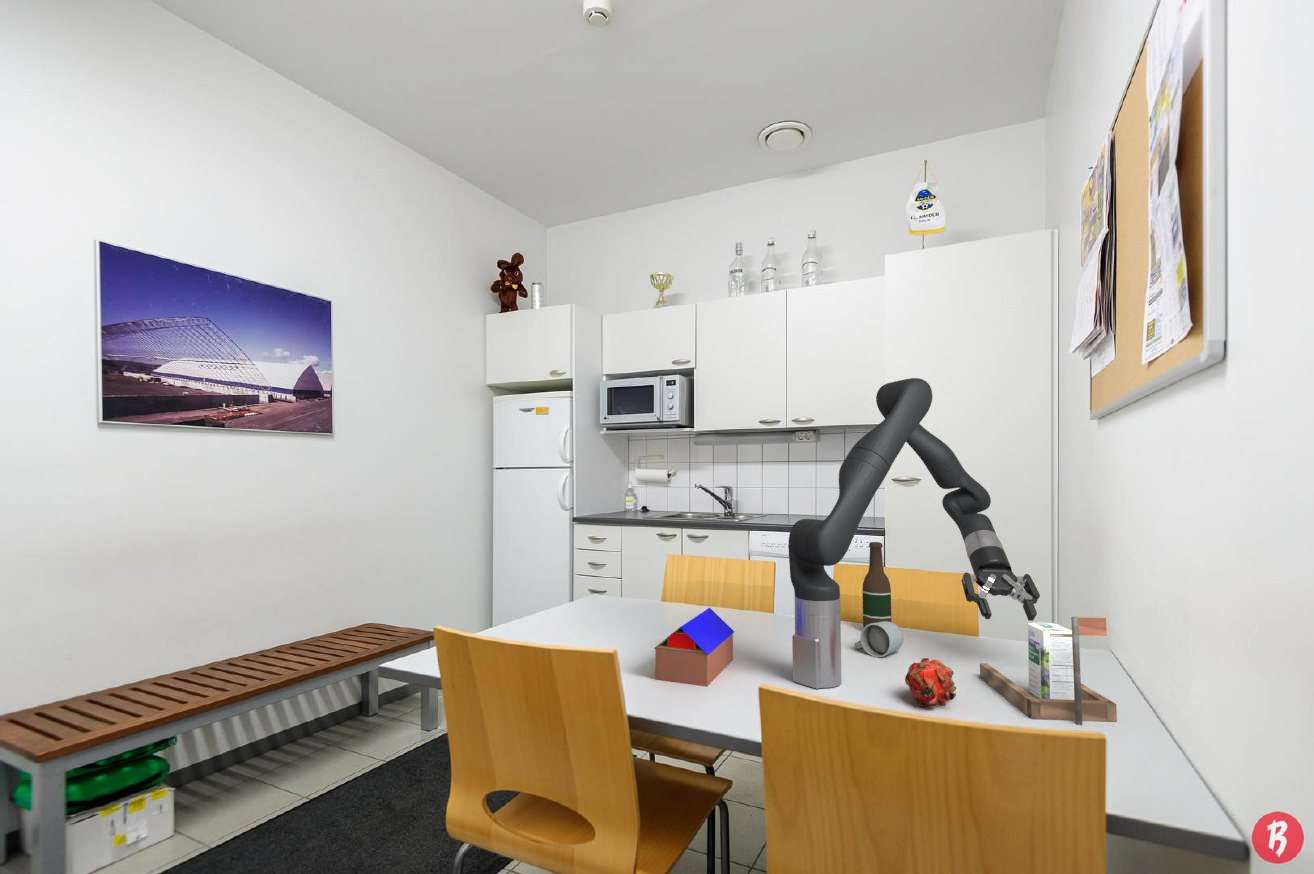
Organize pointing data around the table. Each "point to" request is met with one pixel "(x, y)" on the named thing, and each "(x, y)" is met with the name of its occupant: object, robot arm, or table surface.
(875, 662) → the table surface
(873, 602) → the beer bottle
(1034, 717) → the wooden frame with flag
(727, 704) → the table surface
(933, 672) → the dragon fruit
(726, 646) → the house
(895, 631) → the ceramic mug
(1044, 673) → the syrup box
